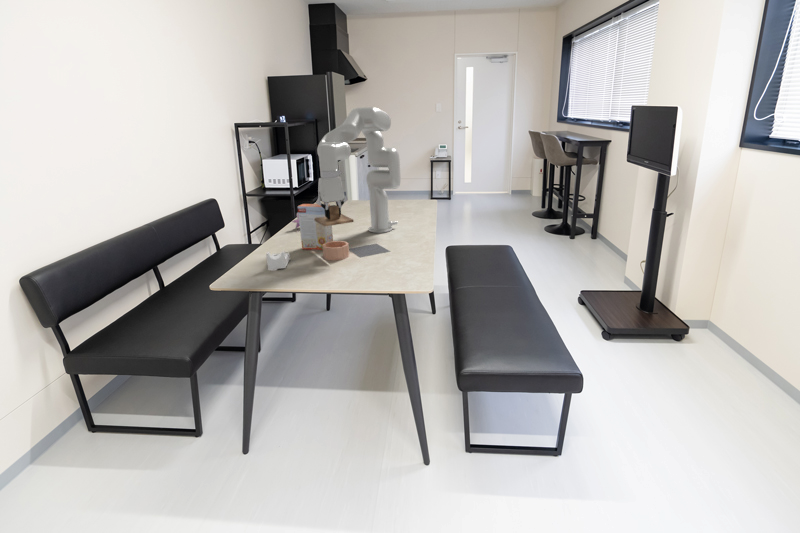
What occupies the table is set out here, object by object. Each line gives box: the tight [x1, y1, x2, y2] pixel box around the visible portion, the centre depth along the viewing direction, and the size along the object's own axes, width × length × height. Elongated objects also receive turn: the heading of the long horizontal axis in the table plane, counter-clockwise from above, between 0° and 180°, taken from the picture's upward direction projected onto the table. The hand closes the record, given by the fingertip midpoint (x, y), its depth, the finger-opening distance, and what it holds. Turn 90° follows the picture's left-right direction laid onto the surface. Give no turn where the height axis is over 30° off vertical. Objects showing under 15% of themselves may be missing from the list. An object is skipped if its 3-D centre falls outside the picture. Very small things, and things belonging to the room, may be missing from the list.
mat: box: [349, 243, 391, 258], centre depth 213 cm, size 15×15×1 cm
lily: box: [291, 212, 300, 229], centre depth 256 cm, size 12×12×10 cm
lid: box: [314, 204, 354, 227], centre depth 200 cm, size 13×13×6 cm
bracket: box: [265, 250, 290, 271], centre depth 198 cm, size 13×7×8 cm, turn 5°
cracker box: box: [297, 203, 334, 251], centre depth 217 cm, size 14×6×21 cm, turn 71°
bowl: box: [322, 240, 350, 261], centre depth 205 cm, size 11×11×6 cm
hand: (333, 217), depth 200 cm, fingers closed on lid, 4 cm apart
